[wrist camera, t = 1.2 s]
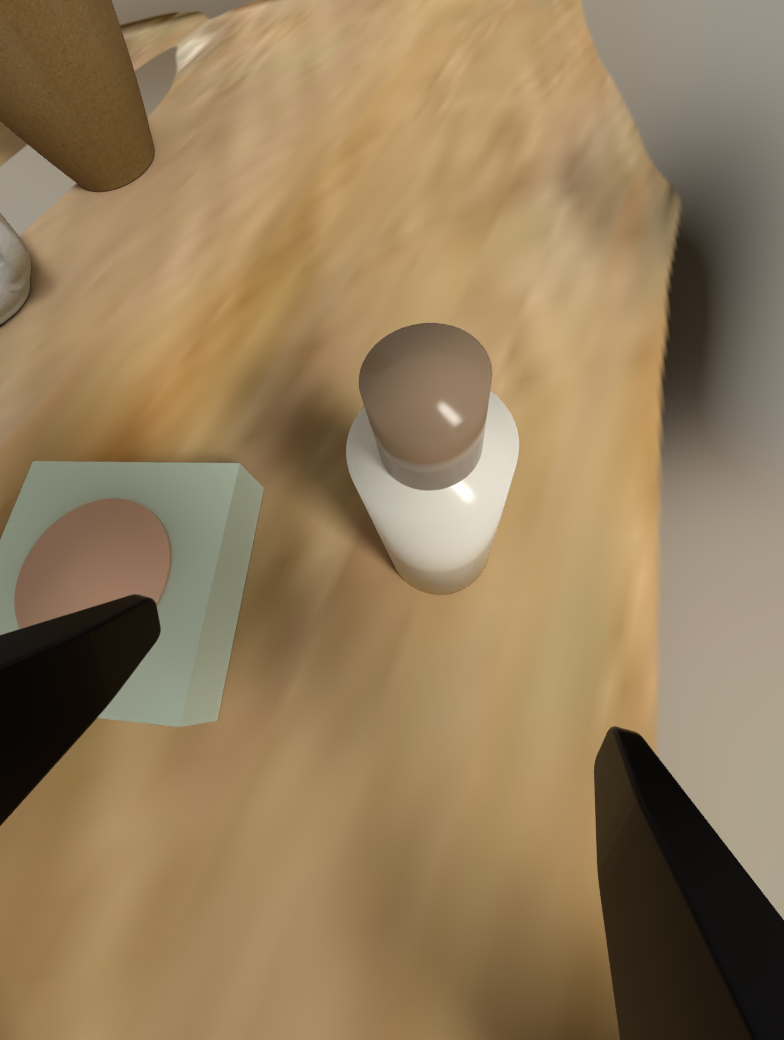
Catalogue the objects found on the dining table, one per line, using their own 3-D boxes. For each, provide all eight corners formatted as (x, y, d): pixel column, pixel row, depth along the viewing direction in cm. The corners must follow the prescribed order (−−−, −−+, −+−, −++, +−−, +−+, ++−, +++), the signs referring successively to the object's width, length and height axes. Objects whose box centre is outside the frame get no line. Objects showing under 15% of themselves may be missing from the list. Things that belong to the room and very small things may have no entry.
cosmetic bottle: (489, 597, 20) (544, 475, 8) (386, 591, 21) (301, 472, 9) (489, 501, 22) (535, 286, 10) (394, 499, 23) (331, 296, 11)
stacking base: (217, 720, 20) (175, 727, 17) (-1, 697, 22) (-75, 699, 19) (263, 488, 24) (236, 460, 21) (77, 484, 26) (27, 458, 23)
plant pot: (40, 145, 41) (-194, -160, 26) (187, 96, 41) (35, -241, 26) (32, 246, 35) (-273, -70, 20) (202, 190, 35) (19, -171, 20)
